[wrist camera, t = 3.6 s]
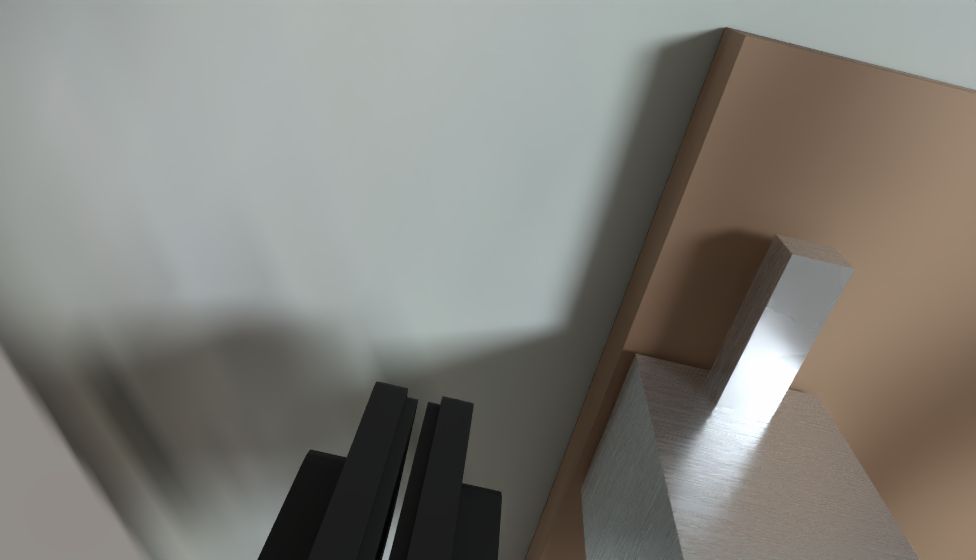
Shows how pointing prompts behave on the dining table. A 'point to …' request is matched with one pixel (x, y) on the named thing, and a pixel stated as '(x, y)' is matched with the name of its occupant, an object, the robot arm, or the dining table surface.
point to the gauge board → (831, 222)
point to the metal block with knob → (739, 442)
